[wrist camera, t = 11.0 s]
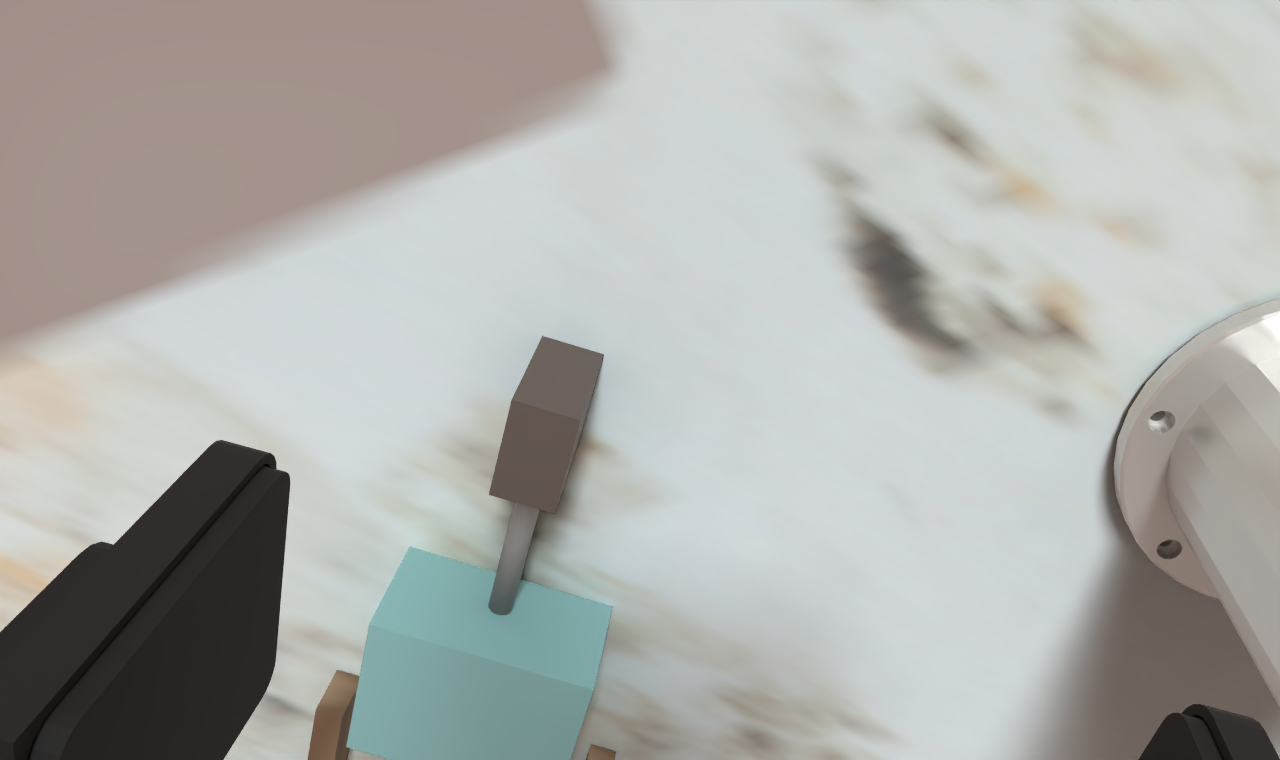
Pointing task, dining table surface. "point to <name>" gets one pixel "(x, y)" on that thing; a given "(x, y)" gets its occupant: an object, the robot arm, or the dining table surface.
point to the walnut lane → (337, 714)
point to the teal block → (491, 611)
